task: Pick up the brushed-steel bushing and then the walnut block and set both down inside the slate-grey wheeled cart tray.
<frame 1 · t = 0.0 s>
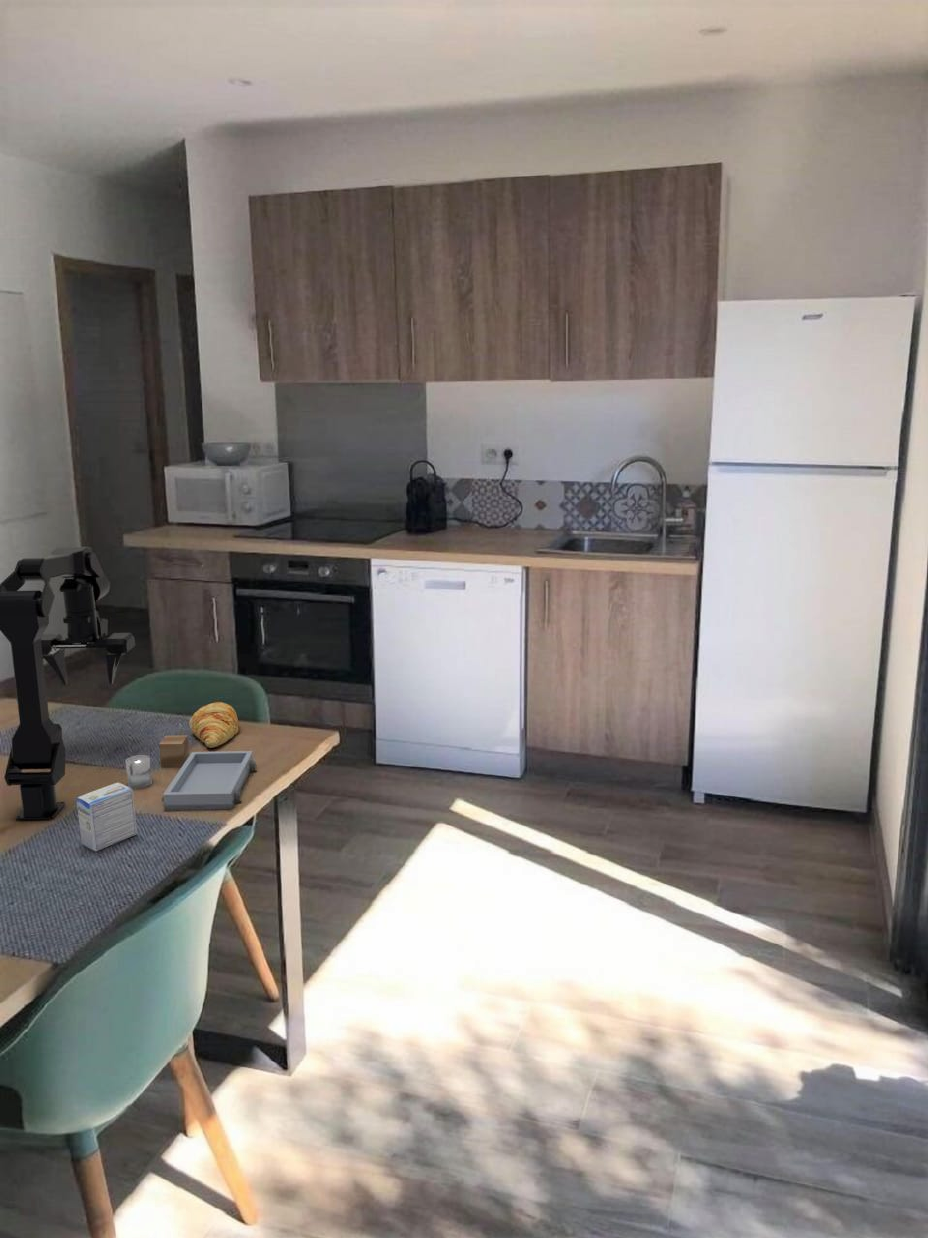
hand: (88, 684, 201), 15 cm above the table, fingers open, 9 cm apart
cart: (211, 786, 187), on the table
medicine box: (110, 841, 167), on the table
steel bushing: (140, 783, 189), on the table
walnut block: (175, 763, 198), on the table
croissant: (214, 735, 214), on the table
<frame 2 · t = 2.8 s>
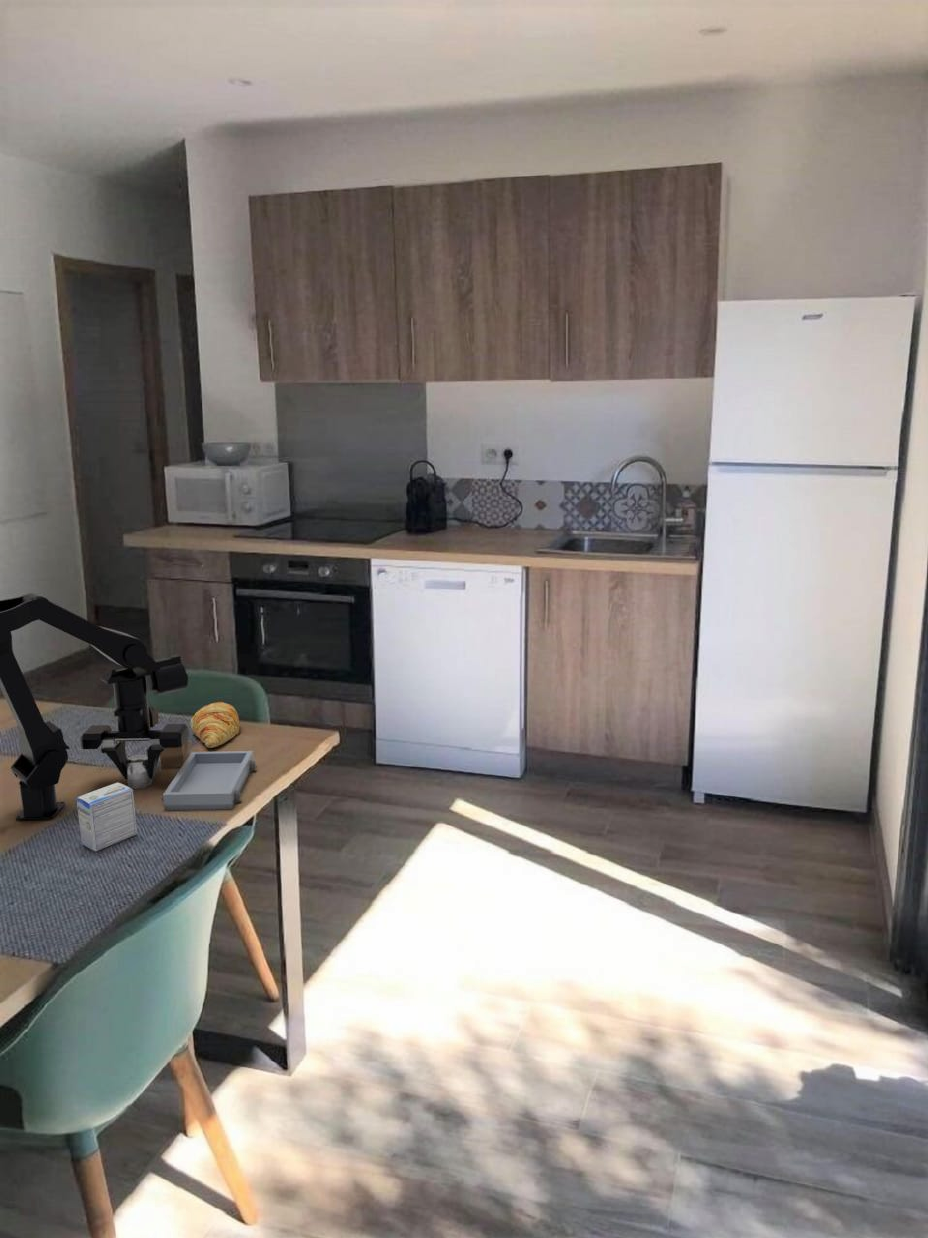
hand: (139, 778, 188), 1 cm above the table, fingers closed on steel bushing, 4 cm apart
steel bushing: (140, 783, 189), on the table, touching gripper
everything else where it was.
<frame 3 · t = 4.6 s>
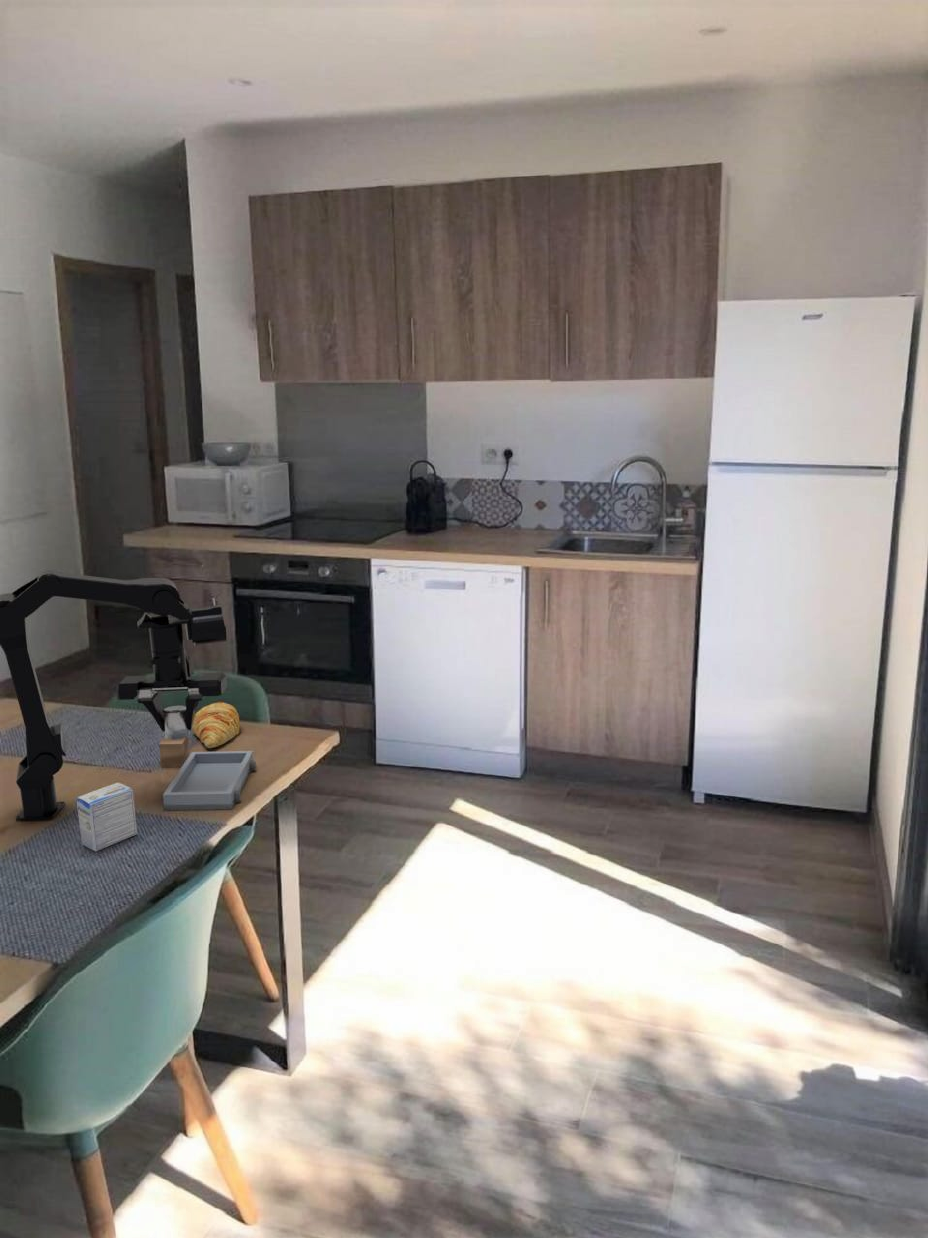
hand: (177, 730, 182), 12 cm above the table, fingers closed on steel bushing, 4 cm apart
steel bushing: (177, 735, 183), point 11 cm above the table, touching gripper
everything else where it was.
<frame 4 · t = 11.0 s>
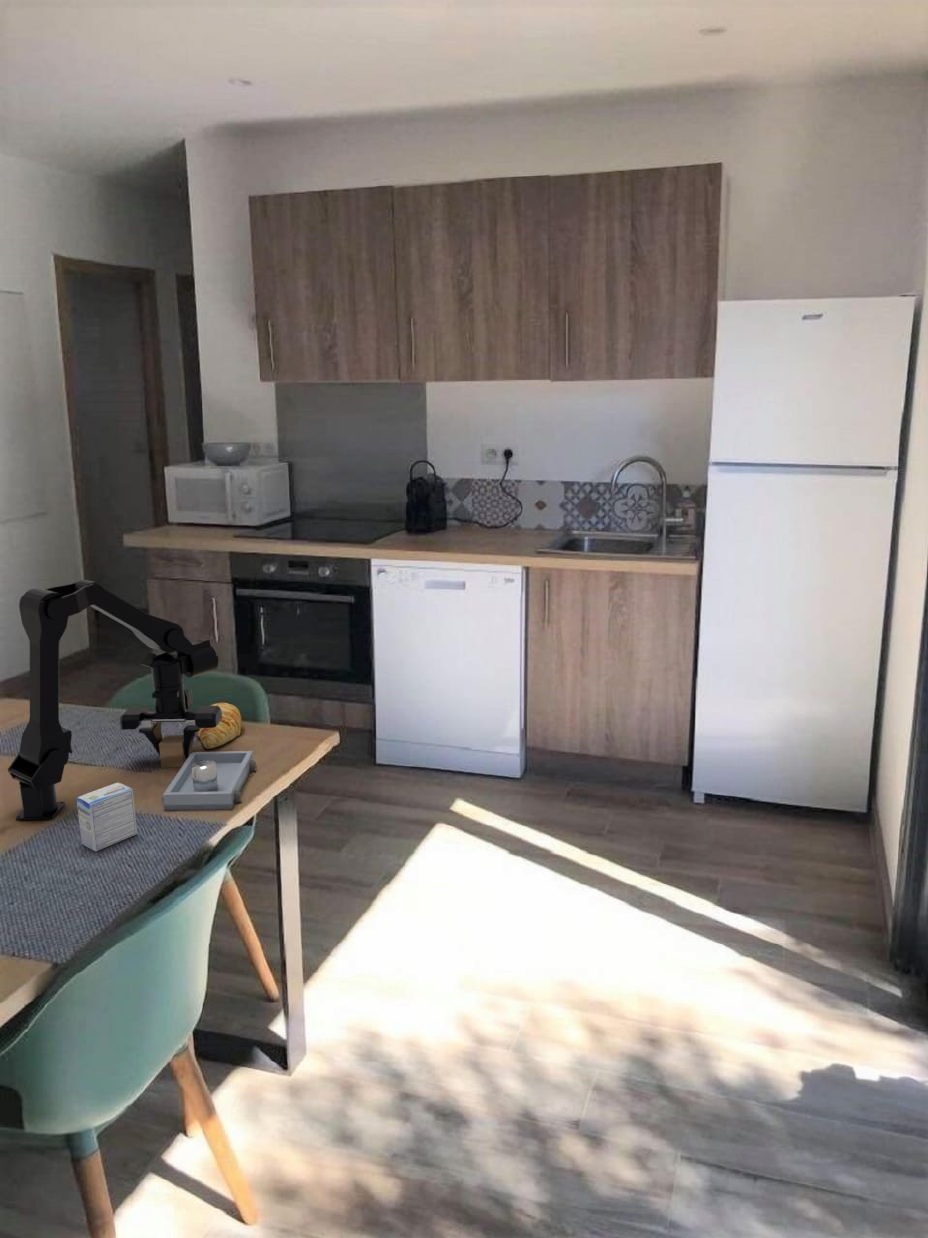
hand: (175, 757, 198), 1 cm above the table, fingers closed on walnut block, 4 cm apart
steel bushing: (206, 790, 183), point 1 cm above the table, touching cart
walnut block: (175, 762, 198), on the table, touching gripper
when the fingers open (3 cm above the table, at t = 14.6 s): walnut block drops 1 cm, resting on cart.
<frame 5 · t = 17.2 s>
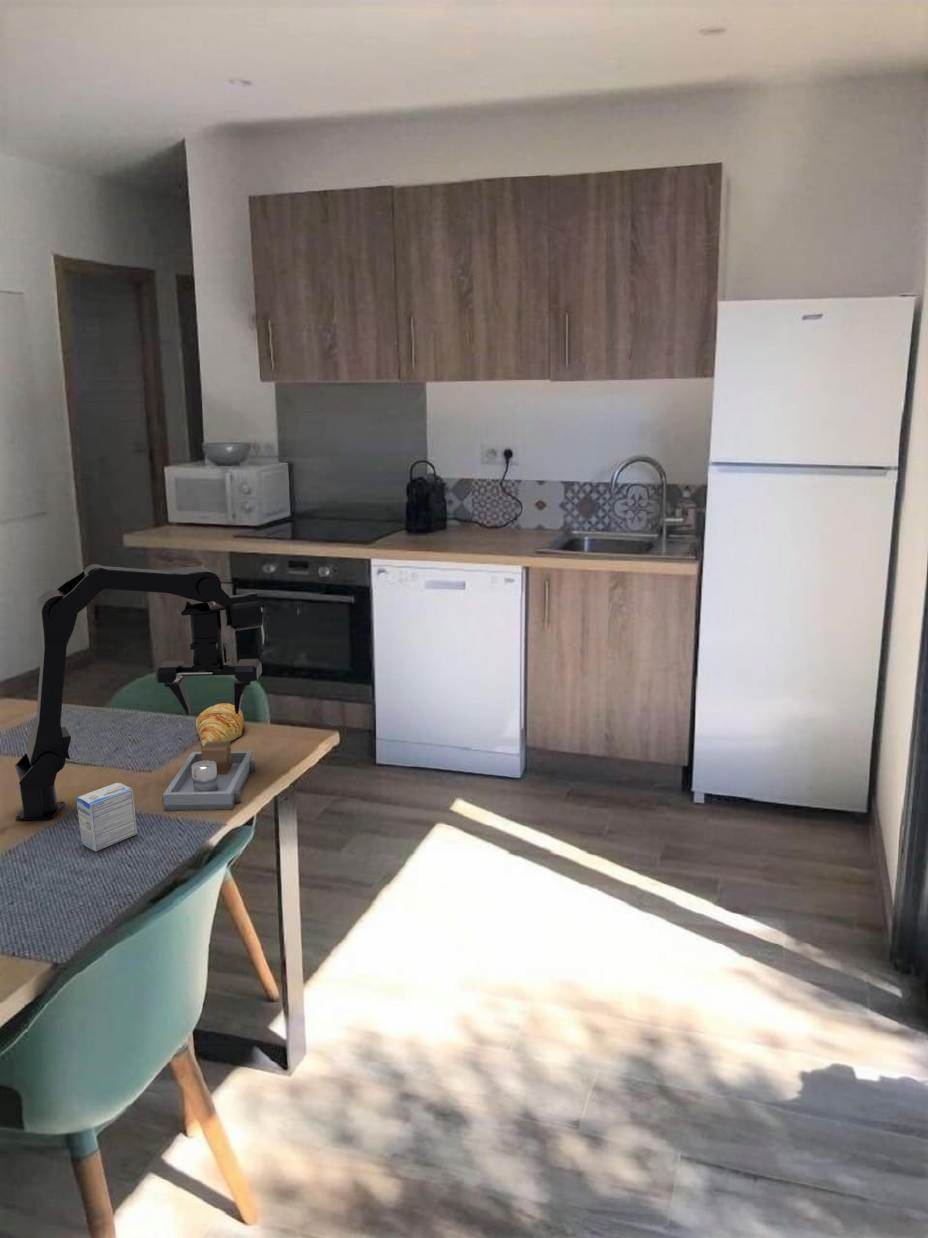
hand: (213, 713, 189), 12 cm above the table, fingers open, 9 cm apart
walnut block: (217, 769, 192), point 1 cm above the table, touching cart
at the end: steel bushing inside the target area on the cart (3.9 cm from its centre), point 1.0 cm above the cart's base; walnut block inside the target area on the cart (5.6 cm from its centre), point 1.0 cm above the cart's base; the gripper is holding nothing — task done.
